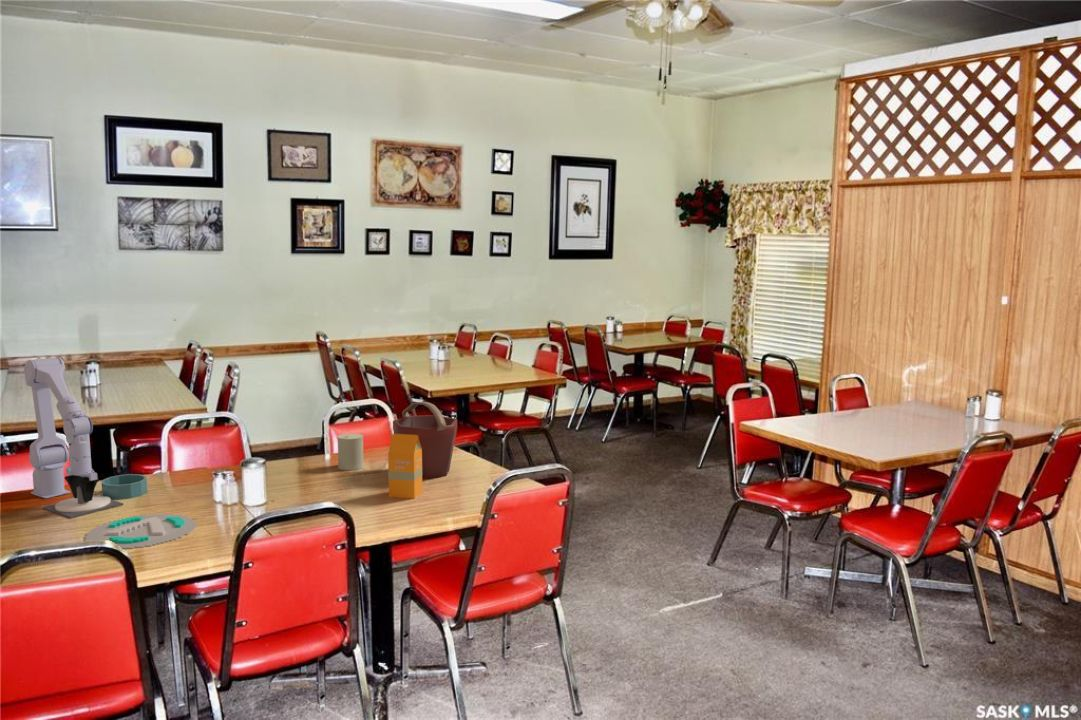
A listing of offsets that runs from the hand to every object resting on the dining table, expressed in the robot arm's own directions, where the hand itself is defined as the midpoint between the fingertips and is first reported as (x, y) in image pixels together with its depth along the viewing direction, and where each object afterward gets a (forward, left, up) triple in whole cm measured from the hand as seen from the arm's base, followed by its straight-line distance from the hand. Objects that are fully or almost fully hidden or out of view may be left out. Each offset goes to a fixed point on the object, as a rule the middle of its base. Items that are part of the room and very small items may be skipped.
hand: (83, 499), depth 262 cm
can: (+32, +80, -2) cm, 86 cm away
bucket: (+59, +91, -2) cm, 108 cm away
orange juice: (+71, +67, -2) cm, 98 cm away
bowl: (-3, +15, -2) cm, 15 cm away
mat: (0, 0, -2) cm, 2 cm away
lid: (0, 0, -2) cm, 2 cm away
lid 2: (+35, -2, -3) cm, 35 cm away
